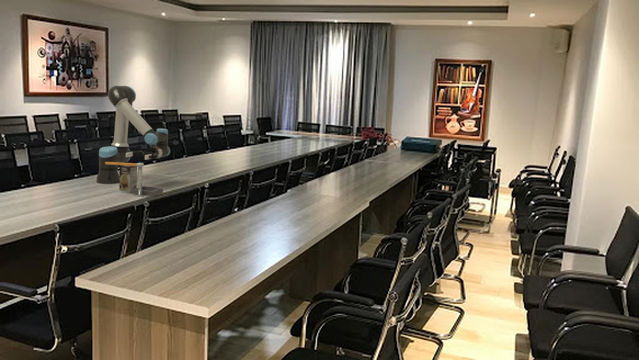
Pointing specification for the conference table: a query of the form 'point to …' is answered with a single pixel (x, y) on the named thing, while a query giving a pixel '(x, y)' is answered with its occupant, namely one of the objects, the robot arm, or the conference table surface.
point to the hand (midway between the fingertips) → (135, 156)
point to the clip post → (139, 182)
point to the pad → (125, 192)
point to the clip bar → (126, 164)
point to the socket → (148, 190)
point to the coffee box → (127, 178)
